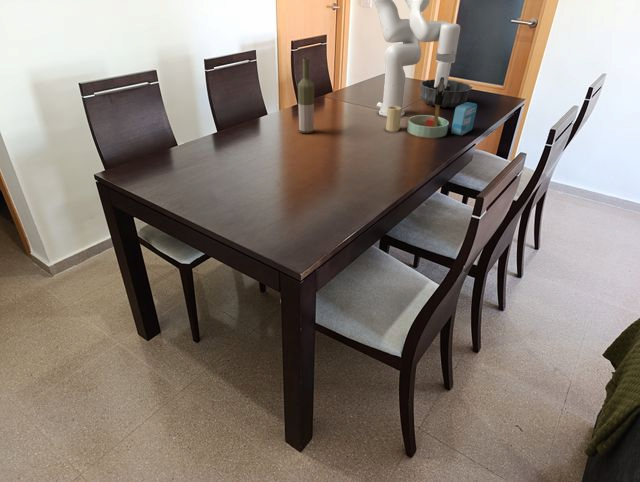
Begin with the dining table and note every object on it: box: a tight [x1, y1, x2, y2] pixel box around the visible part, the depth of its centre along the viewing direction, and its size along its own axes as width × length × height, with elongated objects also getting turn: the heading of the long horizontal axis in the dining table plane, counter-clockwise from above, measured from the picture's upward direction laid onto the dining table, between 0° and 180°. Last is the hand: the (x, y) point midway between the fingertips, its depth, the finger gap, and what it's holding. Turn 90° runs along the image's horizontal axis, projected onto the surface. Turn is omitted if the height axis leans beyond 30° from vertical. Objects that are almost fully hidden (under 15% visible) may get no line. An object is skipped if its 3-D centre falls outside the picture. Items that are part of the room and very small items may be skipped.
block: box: [425, 117, 438, 127], centre depth 191 cm, size 4×4×4 cm
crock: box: [385, 106, 403, 132], centre depth 187 cm, size 6×6×10 cm
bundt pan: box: [419, 78, 473, 109], centre depth 225 cm, size 26×26×10 cm
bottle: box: [297, 57, 315, 134], centre depth 179 cm, size 7×7×30 cm
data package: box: [450, 101, 478, 137], centre depth 186 cm, size 12×4×12 cm, turn 138°
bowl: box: [406, 114, 449, 139], centre depth 187 cm, size 17×17×5 cm
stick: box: [433, 105, 441, 127], centre depth 184 cm, size 2×2×16 cm
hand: (438, 103), depth 183 cm, fingers closed on stick, 1 cm apart
